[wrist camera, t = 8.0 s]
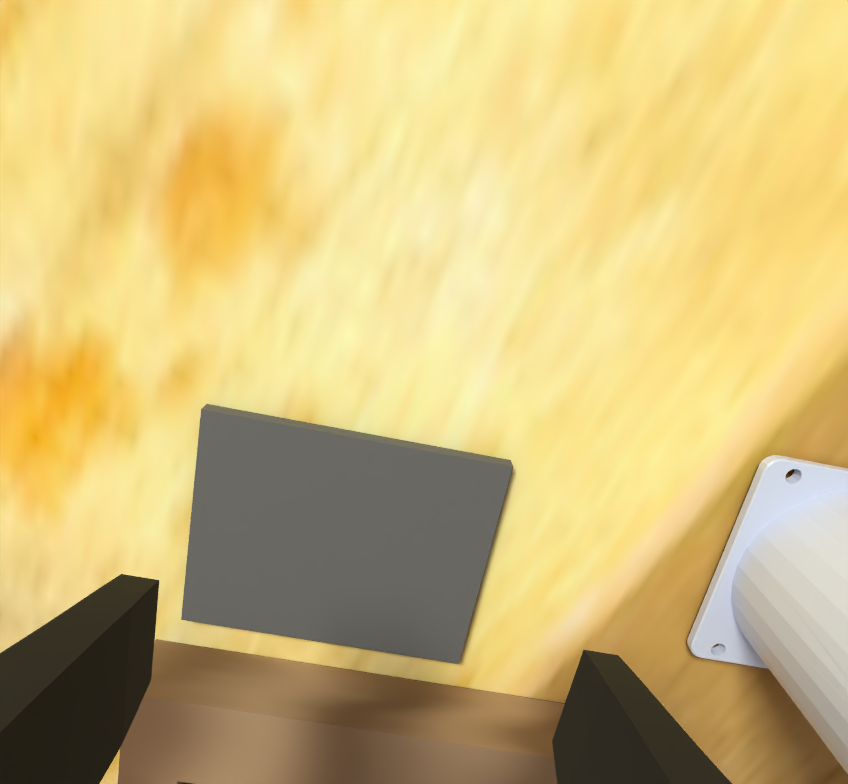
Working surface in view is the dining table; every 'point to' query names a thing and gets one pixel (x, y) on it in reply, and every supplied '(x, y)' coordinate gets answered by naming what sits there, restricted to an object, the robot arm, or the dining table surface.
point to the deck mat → (338, 534)
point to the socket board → (326, 726)
